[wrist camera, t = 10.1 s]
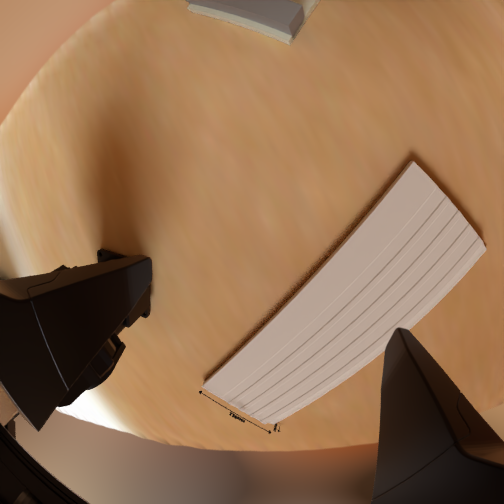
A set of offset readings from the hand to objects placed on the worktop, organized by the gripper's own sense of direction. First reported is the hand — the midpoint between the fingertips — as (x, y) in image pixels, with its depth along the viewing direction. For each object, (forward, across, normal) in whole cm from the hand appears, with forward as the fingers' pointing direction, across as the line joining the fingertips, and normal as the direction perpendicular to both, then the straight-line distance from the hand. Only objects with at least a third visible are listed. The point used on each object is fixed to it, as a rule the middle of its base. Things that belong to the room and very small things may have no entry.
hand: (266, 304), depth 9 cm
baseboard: (+14, -5, +11) cm, 18 cm away
